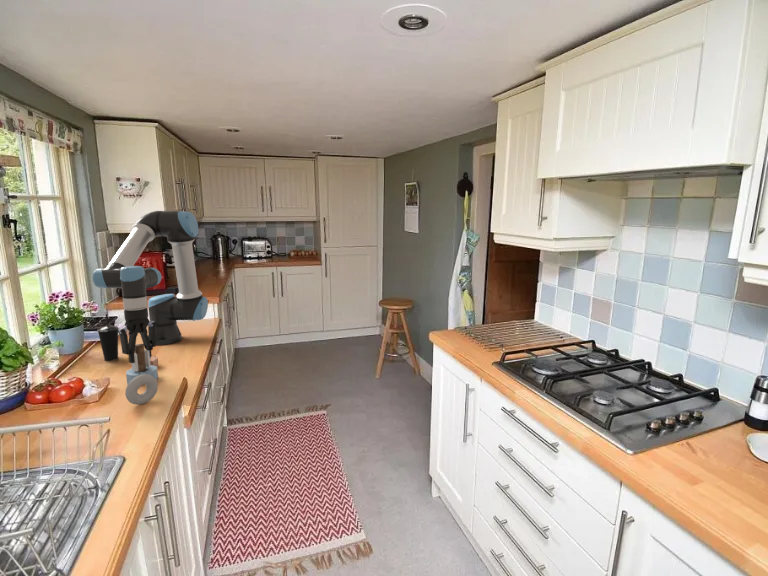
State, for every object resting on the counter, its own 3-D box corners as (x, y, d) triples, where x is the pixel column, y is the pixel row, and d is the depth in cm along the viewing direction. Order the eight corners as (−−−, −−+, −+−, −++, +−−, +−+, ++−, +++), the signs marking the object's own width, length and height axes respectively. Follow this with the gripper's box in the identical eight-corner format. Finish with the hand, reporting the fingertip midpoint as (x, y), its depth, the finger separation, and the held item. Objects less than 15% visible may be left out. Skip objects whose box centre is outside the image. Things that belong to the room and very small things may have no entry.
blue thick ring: (147, 373, 158) (146, 363, 157) (163, 377, 154) (162, 368, 153) (121, 382, 149) (120, 372, 148) (137, 387, 145) (136, 377, 144)
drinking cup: (111, 362, 169) (106, 317, 165) (96, 361, 170) (90, 315, 167) (126, 356, 176) (121, 312, 173) (111, 355, 178) (106, 311, 174)
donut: (130, 410, 127) (127, 381, 126) (124, 408, 129) (121, 378, 127) (161, 399, 136) (158, 371, 134) (155, 396, 137) (153, 369, 136)
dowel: (143, 378, 153) (140, 343, 151) (148, 379, 152) (145, 344, 149) (136, 380, 150) (132, 345, 148) (141, 382, 149) (137, 346, 147)
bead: (146, 363, 169) (145, 355, 168) (162, 364, 167) (162, 356, 166) (131, 370, 161) (130, 361, 160) (148, 371, 159) (147, 363, 159)
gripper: (151, 303, 156) (156, 359, 160) (105, 311, 141) (112, 374, 144) (164, 305, 152) (168, 363, 156) (118, 314, 137) (124, 378, 141)
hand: (141, 368), depth 150 cm, fingers open, 4 cm apart
